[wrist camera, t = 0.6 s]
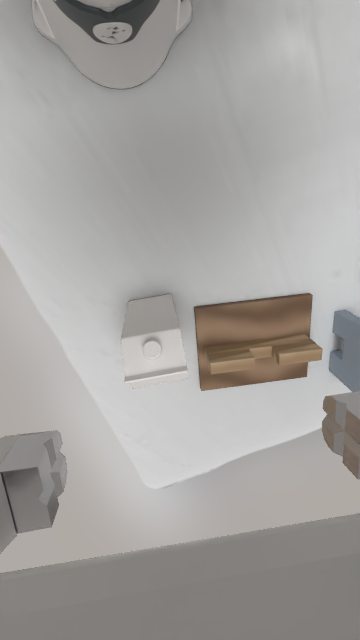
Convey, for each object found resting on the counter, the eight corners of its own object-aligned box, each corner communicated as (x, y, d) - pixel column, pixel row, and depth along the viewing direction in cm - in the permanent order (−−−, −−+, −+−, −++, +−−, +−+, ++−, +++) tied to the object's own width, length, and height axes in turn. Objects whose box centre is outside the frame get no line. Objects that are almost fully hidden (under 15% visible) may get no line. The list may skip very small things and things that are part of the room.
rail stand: (194, 306, 51) (201, 322, 45) (309, 293, 53) (332, 306, 46) (200, 387, 57) (207, 411, 51) (303, 373, 58) (323, 395, 52)
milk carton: (177, 332, 53) (192, 397, 35) (136, 339, 53) (131, 408, 35) (170, 293, 50) (183, 342, 33) (128, 300, 50) (117, 354, 32)
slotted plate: (334, 311, 54) (373, 333, 45) (345, 310, 54) (386, 332, 45) (328, 370, 59) (362, 401, 49) (338, 368, 59) (374, 399, 50)
